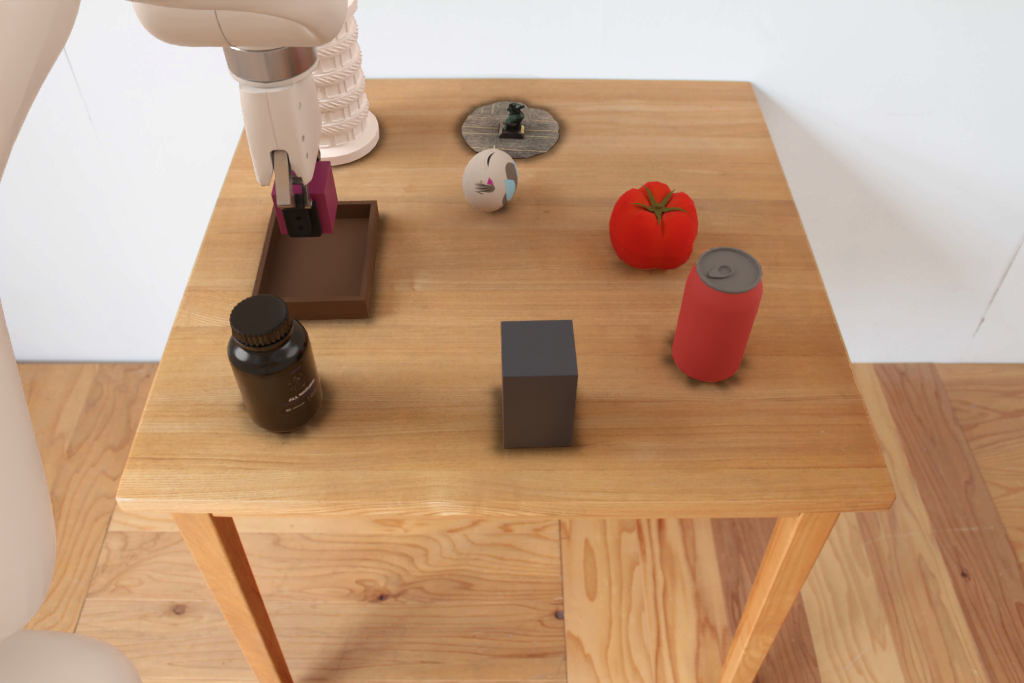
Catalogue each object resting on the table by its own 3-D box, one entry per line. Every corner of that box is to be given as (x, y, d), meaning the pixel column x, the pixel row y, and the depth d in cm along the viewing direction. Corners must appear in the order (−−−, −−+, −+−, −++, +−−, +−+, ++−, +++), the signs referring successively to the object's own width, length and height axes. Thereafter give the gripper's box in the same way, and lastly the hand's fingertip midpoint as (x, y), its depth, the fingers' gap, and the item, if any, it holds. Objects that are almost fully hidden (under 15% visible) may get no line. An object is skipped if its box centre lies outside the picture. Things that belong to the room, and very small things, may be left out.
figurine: (508, 233, 93) (508, 184, 88) (455, 225, 94) (452, 176, 89) (524, 188, 98) (525, 139, 93) (474, 181, 99) (472, 132, 94)
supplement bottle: (318, 436, 76) (291, 347, 66) (241, 434, 76) (204, 346, 67) (330, 375, 80) (307, 285, 71) (258, 374, 80) (226, 283, 71)
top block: (333, 233, 83) (324, 193, 79) (281, 234, 83) (270, 194, 79) (338, 200, 87) (330, 160, 83) (288, 201, 86) (278, 161, 83)
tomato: (592, 243, 92) (597, 188, 87) (659, 217, 95) (668, 162, 89) (642, 297, 87) (651, 242, 81) (711, 267, 90) (725, 212, 84)
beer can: (657, 345, 83) (675, 253, 74) (716, 325, 84) (740, 233, 75) (693, 394, 79) (717, 304, 70) (753, 373, 80) (784, 282, 71)
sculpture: (576, 144, 104) (542, 115, 98) (525, 197, 107) (488, 172, 101) (530, 90, 111) (495, 60, 105) (483, 142, 114) (445, 115, 107)
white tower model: (295, 109, 109) (264, -30, 95) (385, 111, 109) (367, -28, 95) (275, 165, 101) (238, 22, 88) (372, 167, 101) (350, 24, 87)
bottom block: (571, 446, 75) (578, 374, 67) (503, 448, 75) (502, 376, 67) (566, 392, 79) (572, 319, 71) (501, 394, 79) (500, 320, 71)
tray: (368, 318, 85) (365, 300, 83) (255, 320, 85) (249, 302, 83) (379, 218, 95) (376, 200, 93) (278, 220, 95) (273, 202, 93)
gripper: (243, -2, 76) (284, 163, 90) (204, 107, 65) (257, 277, 79) (327, -3, 77) (355, 162, 90) (302, 105, 65) (338, 275, 79)
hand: (309, 214), depth 85 cm, fingers closed on top block, 5 cm apart
